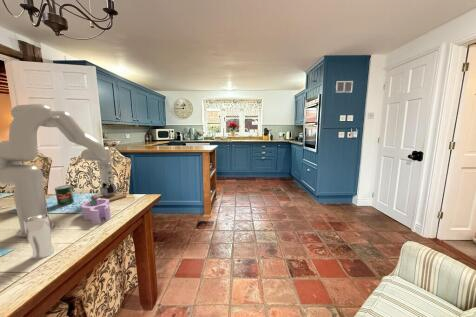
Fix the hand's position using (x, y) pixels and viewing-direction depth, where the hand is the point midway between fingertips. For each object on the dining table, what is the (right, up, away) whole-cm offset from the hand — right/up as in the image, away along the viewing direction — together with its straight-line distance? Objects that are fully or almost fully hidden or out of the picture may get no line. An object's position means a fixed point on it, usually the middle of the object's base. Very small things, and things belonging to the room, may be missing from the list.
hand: (108, 191), depth 135 cm
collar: (0, -1, 0) cm, 1 cm away
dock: (0, -4, +1) cm, 4 cm away
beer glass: (+12, -15, -58) cm, 61 cm away
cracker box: (-36, -7, -11) cm, 39 cm away
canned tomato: (-21, -6, -9) cm, 24 cm away
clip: (+11, -9, -26) cm, 30 cm away
